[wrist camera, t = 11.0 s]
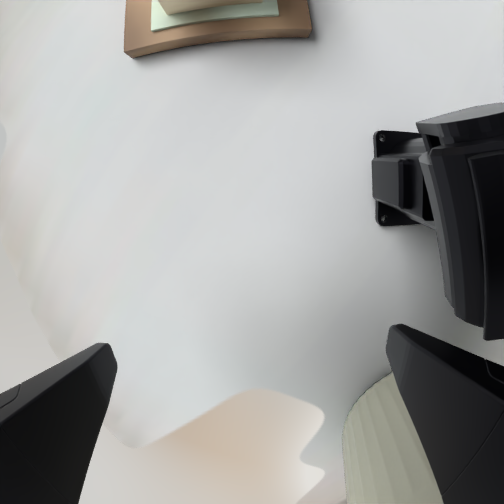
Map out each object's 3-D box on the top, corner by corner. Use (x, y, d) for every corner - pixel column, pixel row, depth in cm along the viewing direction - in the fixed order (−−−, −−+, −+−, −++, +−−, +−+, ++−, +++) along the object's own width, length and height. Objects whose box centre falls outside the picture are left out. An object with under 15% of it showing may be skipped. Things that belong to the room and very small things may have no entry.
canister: (464, 295, 21) (616, 447, 1) (469, 402, 26) (539, 517, 6) (286, 389, 24) (313, 627, 4) (343, 468, 29) (372, 605, 9)
